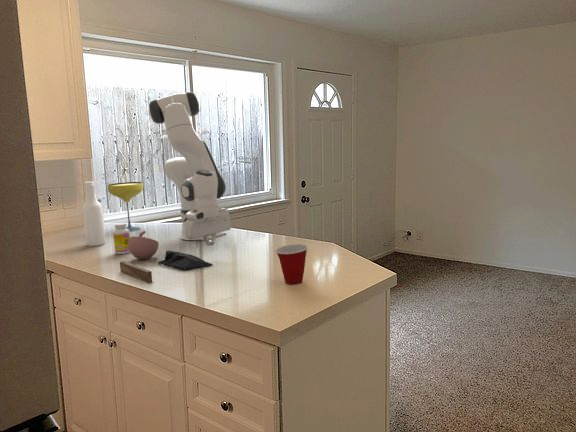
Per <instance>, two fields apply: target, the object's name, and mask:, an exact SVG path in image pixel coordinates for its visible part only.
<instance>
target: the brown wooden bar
mask: <svg viewBox="0 0 576 432" xmlns="http://www.w3.org/2000/svg"><path fill="white" fill-rule="evenodd" d="M119 269H120V270H119V271H120V273H121V274H125V275H127V276H129V277H132V278H134V279H137V280H139V281H141V282H144V283H147V284H151V283H153V273H152V271H151V270H149V269H146V268H143V267H141V266H138V265H135V264H133V263H131V262H127V261H125V260H121V261H119Z"/></svg>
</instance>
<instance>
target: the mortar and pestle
mask: <svg viewBox="0 0 576 432" xmlns="http://www.w3.org/2000/svg"><path fill="white" fill-rule="evenodd" d="M146 233H147V232H146V230H143V231H141V232H140V233H139V235H138V236H137V235H133V236H130V238H129V242H128V248H129V251H130V252H129V253H130V254H131V255H132V256H133V257H134V258H135V259H139V260H147V259H150V258H152V257H153V256H154V255H155V254H156V253H157V252H158V249H159V244H160V243H159V241H158V240H156V239H153V238H149V237H146V236H143V235H144V234H146Z"/></svg>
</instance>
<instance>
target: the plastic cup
mask: <svg viewBox="0 0 576 432" xmlns="http://www.w3.org/2000/svg"><path fill="white" fill-rule="evenodd" d="M308 248H309V245H307V244H304V243H294V244H292V243H291V244H288V245H282V246H280V247H277V248H275V253H276V255H277V256H278V259H279V262H280V267H281V272H282V274H283V280H284V283H285V284H286V285H291V286H294V285H295V286H297V285H301V284H302V283H303V280H304V273H305V265H306V258H307V257H306V256H307V251H308Z"/></svg>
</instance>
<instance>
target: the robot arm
mask: <svg viewBox="0 0 576 432" xmlns="http://www.w3.org/2000/svg"><path fill="white" fill-rule="evenodd" d="M200 109H201V102H200V99H199V97H198V96H197V95H196V93H195V92H193V91H186V92H181V93H179V92H178V93H173V94H170V95H167V96H162V97H159V98H154V99H152V100H150V101H149V102H148V108H147V112H148V115H149V117H150V119H151V120H152V122H153V123H155V124H161V125H162V124H164V127H165V131H166V134H167V139H168V141H169V143H170V146H171V148H172V150H174V151H175V152H176V153H179V154H180V155H181V156H182V157H181V156H179V157H178V156H177V157H173V158H170V159H167V160H166V162H165V163H164V167H163V168H164V169H163V171H164V173H165V175H166V177H167V178H168V179H170V180H171V181H172V182H173V184H174V185H175V186H176V188H177V190H178V193H179V198H180V199H179V200H180V207H181V209H180V217H181V218H180V219H181V235H180V239H181V240H184V241H197V240H198V241H199V240H201V241H205V245H206V246H207V247H210V246H214V245H215V243H216V242H215V240H216V238H217V237H220V236H223V235H226V234H227V231H231V228H232V222H231V217H230V210H229V209H228V208H226V207H225V208H224V207H223V208H219V201H218V200H220V199H221V198H222V197H223V196H224V194H225V192H226V190H227V186H226V185H227V184H226V183H225V180H224V178H223V177H222V176H221V174H220V172H219V170H218V167H217V165H216V162H215V160H214V158H213V155H212V154H211V151H210V150H209V147H208V145H207V143H206V142H205V141H204V139H202V138H200V137H199V135H198V134H197V132H196V130H195V129H194V126H193V122H192V118H193V117H195V116H197V115H198V114H199V113H200Z"/></svg>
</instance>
